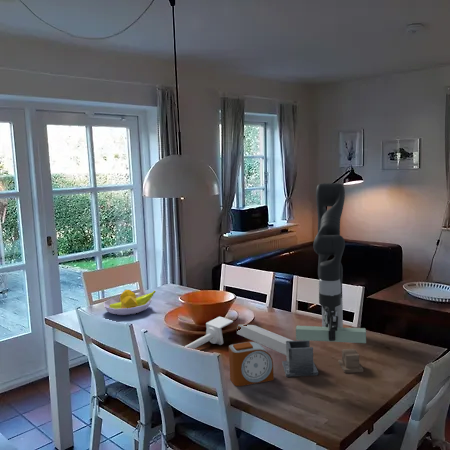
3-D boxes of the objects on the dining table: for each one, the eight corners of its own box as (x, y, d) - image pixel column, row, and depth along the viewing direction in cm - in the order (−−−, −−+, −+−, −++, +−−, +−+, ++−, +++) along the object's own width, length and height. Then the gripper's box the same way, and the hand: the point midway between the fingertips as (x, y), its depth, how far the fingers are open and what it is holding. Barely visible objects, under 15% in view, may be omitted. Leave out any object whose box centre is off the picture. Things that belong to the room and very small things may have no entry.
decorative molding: (252, 335, 224) (236, 334, 218) (254, 325, 224) (238, 324, 218) (304, 357, 197) (287, 357, 191) (306, 345, 197) (289, 345, 191)
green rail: (296, 336, 170) (296, 325, 169) (365, 339, 164) (365, 328, 164) (296, 339, 166) (295, 329, 166) (366, 343, 161) (366, 332, 160)
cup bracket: (282, 364, 184) (281, 339, 182) (312, 362, 184) (312, 338, 182) (286, 376, 173) (285, 351, 171) (318, 375, 173) (317, 349, 171)
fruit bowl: (94, 318, 250) (92, 297, 248) (120, 303, 275) (118, 284, 274) (141, 321, 242) (140, 300, 240) (163, 305, 267) (162, 286, 266)
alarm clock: (235, 387, 166) (234, 351, 164) (228, 377, 174) (227, 343, 172) (274, 380, 170) (273, 345, 168) (265, 371, 178) (264, 337, 177)
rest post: (338, 362, 183) (338, 348, 182) (356, 361, 183) (356, 347, 182) (344, 372, 174) (344, 357, 173) (363, 372, 174) (363, 356, 173)
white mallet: (233, 320, 208) (176, 350, 188) (235, 338, 210) (179, 370, 190) (219, 316, 215) (163, 344, 195) (222, 333, 217) (166, 363, 197)
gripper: (315, 286, 170) (315, 331, 172) (323, 297, 156) (324, 346, 158) (335, 285, 170) (336, 330, 172) (345, 296, 156) (346, 345, 158)
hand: (330, 337), depth 165 cm, fingers closed on green rail, 4 cm apart
